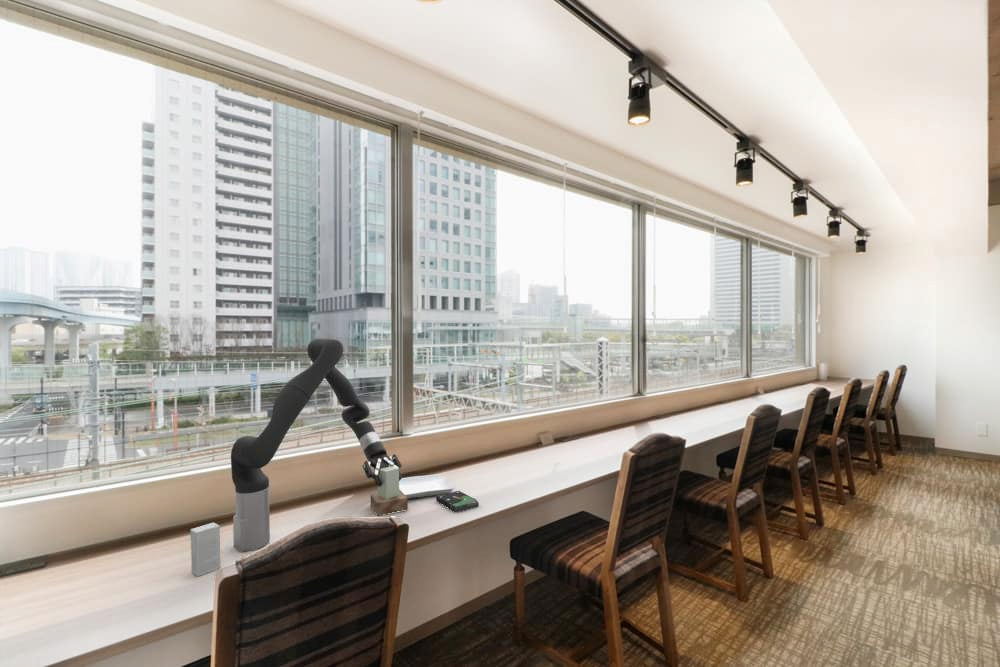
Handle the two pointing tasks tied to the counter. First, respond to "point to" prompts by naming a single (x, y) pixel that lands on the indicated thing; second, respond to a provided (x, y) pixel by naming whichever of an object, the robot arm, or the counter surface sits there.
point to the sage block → (389, 482)
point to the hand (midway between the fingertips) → (390, 482)
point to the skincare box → (205, 549)
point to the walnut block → (389, 503)
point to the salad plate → (424, 486)
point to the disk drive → (457, 501)
